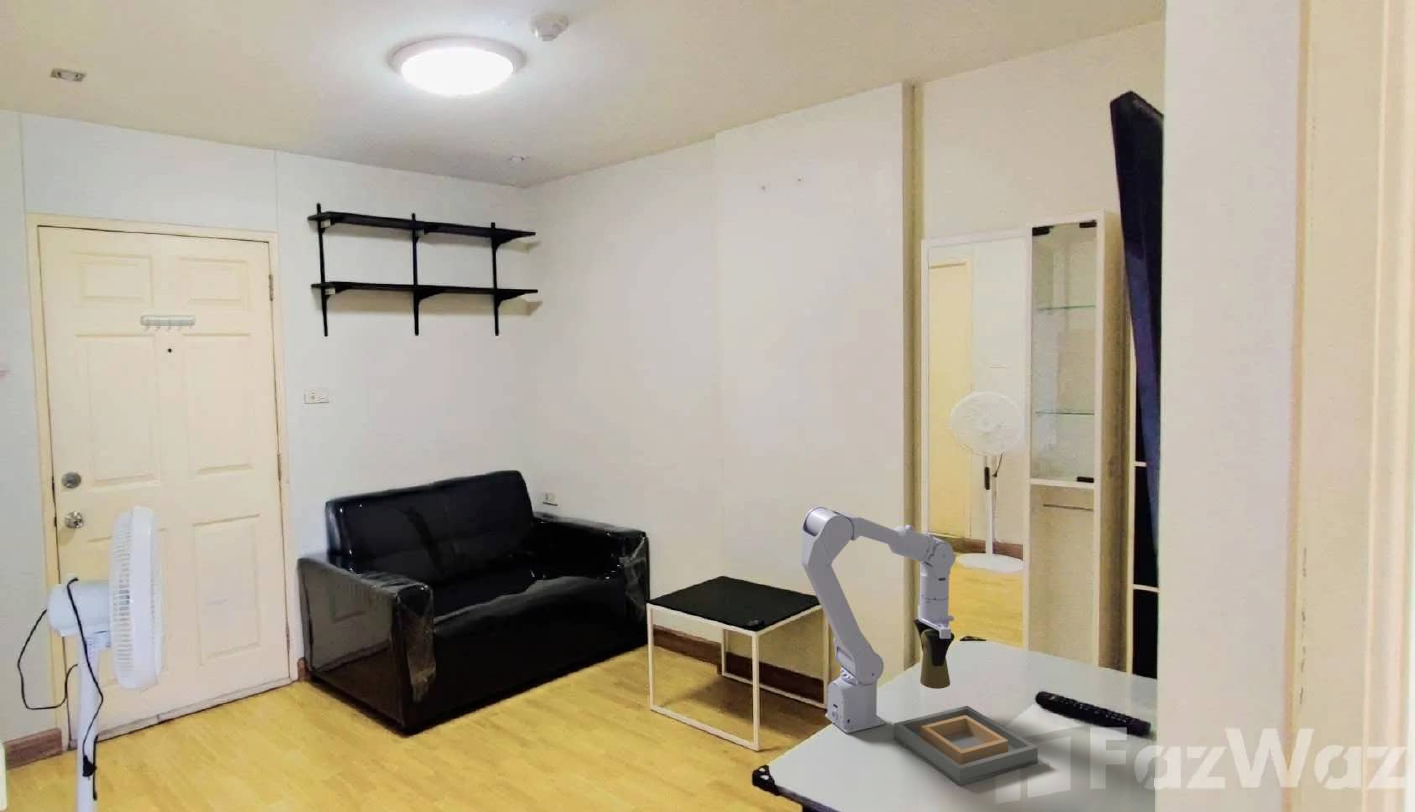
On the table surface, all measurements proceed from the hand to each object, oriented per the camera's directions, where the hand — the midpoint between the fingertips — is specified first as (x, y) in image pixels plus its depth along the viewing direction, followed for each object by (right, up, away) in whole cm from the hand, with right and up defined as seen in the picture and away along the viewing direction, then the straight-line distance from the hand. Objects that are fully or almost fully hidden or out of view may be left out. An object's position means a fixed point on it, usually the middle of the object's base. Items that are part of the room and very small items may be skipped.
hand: (932, 660), depth 162 cm
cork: (+1, -5, +1) cm, 5 cm away
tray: (+1, -12, -16) cm, 20 cm away
